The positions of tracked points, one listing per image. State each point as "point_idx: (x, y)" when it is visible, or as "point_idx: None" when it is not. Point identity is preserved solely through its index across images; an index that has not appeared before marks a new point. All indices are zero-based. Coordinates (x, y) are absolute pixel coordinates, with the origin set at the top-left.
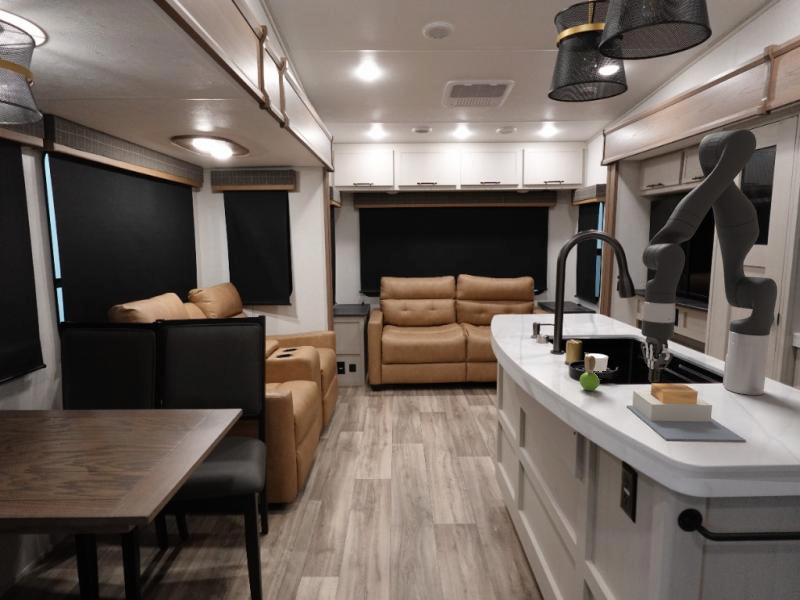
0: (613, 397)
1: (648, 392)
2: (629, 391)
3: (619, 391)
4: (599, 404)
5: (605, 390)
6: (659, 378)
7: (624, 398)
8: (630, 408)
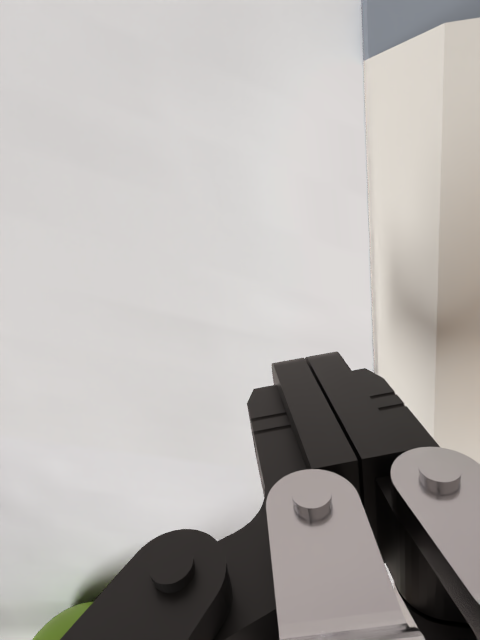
0: (211, 513)
1: (475, 444)
2: (35, 406)
3: (62, 467)
4: None
5: (71, 540)
6: (349, 370)
7: (216, 460)
8: None
